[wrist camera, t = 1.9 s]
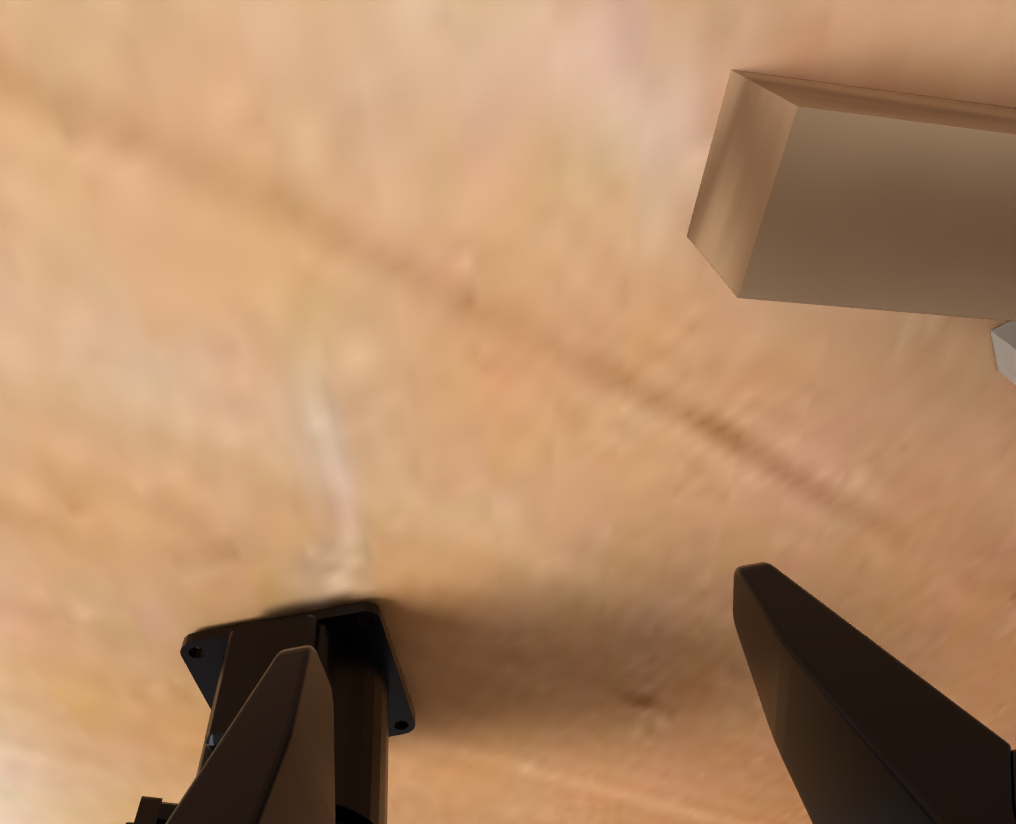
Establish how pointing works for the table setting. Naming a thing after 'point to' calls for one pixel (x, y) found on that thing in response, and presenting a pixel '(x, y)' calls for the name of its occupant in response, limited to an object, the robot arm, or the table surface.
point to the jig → (1005, 349)
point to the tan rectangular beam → (860, 199)
